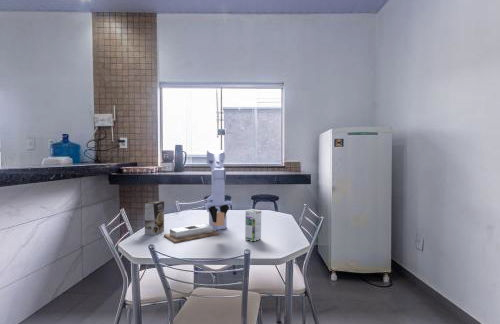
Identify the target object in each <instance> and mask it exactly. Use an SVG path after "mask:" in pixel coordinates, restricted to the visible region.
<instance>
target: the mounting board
mask: <svg viewBox="0 0 500 324" xmlns="http://www.w3.org/2000/svg"><path fill="white" fill-rule="evenodd" d="M214 236H220V232H218V231H217V230H213V232H210V233H204V234H199V235H193V236H188V237H182V238H177V239H176V238H174V237H172V236H171V235H170V232H169V233H165V234H163V237H164V238H165V239H167V240H168V241H171V242H172V243H174V244H177V243H183V242H187V241H193V240H198V239H203V238H209V237H214Z"/></svg>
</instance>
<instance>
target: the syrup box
mask: <svg viewBox="0 0 500 324" xmlns="http://www.w3.org/2000/svg"><path fill="white" fill-rule="evenodd" d="M244 221H245V227H244V229H245V230H244V231H245V235H244V236H245V238H244V240H245V241H248V240H250V241H249V242H252V241H256V240H259V239H261V240H262V210H260V209H253V208H249V209H245V220H244ZM259 241H260V240H259ZM256 242H257V241H256Z"/></svg>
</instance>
